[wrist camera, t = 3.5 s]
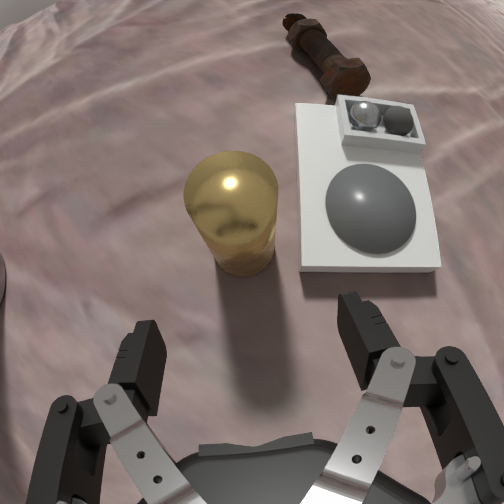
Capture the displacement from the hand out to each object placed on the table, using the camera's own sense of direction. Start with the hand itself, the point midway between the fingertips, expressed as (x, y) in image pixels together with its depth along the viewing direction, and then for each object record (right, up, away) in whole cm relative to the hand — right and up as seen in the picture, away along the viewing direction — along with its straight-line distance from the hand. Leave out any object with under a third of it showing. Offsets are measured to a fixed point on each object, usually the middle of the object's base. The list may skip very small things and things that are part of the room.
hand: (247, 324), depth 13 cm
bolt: (+8, +26, +19) cm, 34 cm away
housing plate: (+10, +9, +14) cm, 19 cm away
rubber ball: (+14, +15, +12) cm, 24 cm away
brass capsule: (0, +4, +13) cm, 13 cm away
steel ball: (+10, +15, +12) cm, 22 cm away
